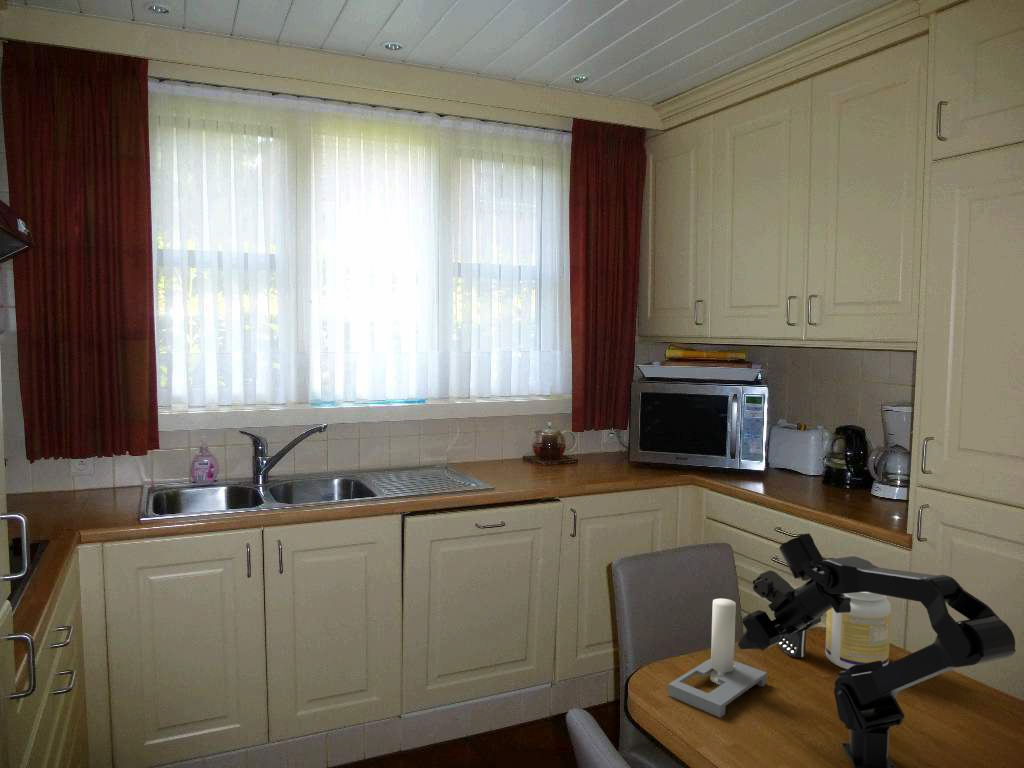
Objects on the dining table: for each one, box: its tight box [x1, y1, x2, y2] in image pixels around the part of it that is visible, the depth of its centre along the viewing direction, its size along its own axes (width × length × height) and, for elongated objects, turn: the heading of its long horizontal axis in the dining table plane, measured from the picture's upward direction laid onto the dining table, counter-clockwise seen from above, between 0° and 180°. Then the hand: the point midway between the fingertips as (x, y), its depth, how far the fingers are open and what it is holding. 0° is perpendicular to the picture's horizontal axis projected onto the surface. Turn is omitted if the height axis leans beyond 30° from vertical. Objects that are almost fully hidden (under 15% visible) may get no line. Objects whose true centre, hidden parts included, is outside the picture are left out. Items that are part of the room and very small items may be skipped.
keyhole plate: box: [667, 657, 768, 719], centre depth 144 cm, size 18×11×2 cm, turn 135°
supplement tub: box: [824, 592, 892, 670], centre depth 155 cm, size 12×12×17 cm
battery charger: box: [776, 629, 808, 658], centre depth 160 cm, size 7×4×11 cm, turn 13°
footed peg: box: [709, 598, 737, 686], centre depth 147 cm, size 4×4×16 cm
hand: (753, 640), depth 142 cm, fingers open, 9 cm apart
